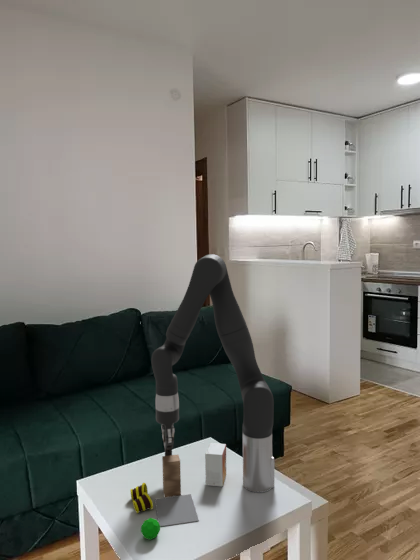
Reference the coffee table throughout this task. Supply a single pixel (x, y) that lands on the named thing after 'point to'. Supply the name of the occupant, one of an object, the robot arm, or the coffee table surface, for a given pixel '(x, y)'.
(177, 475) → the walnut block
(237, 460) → the coffee table surface
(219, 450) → the small box
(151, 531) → the polyhedron
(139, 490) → the opera glasses
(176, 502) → the mat
